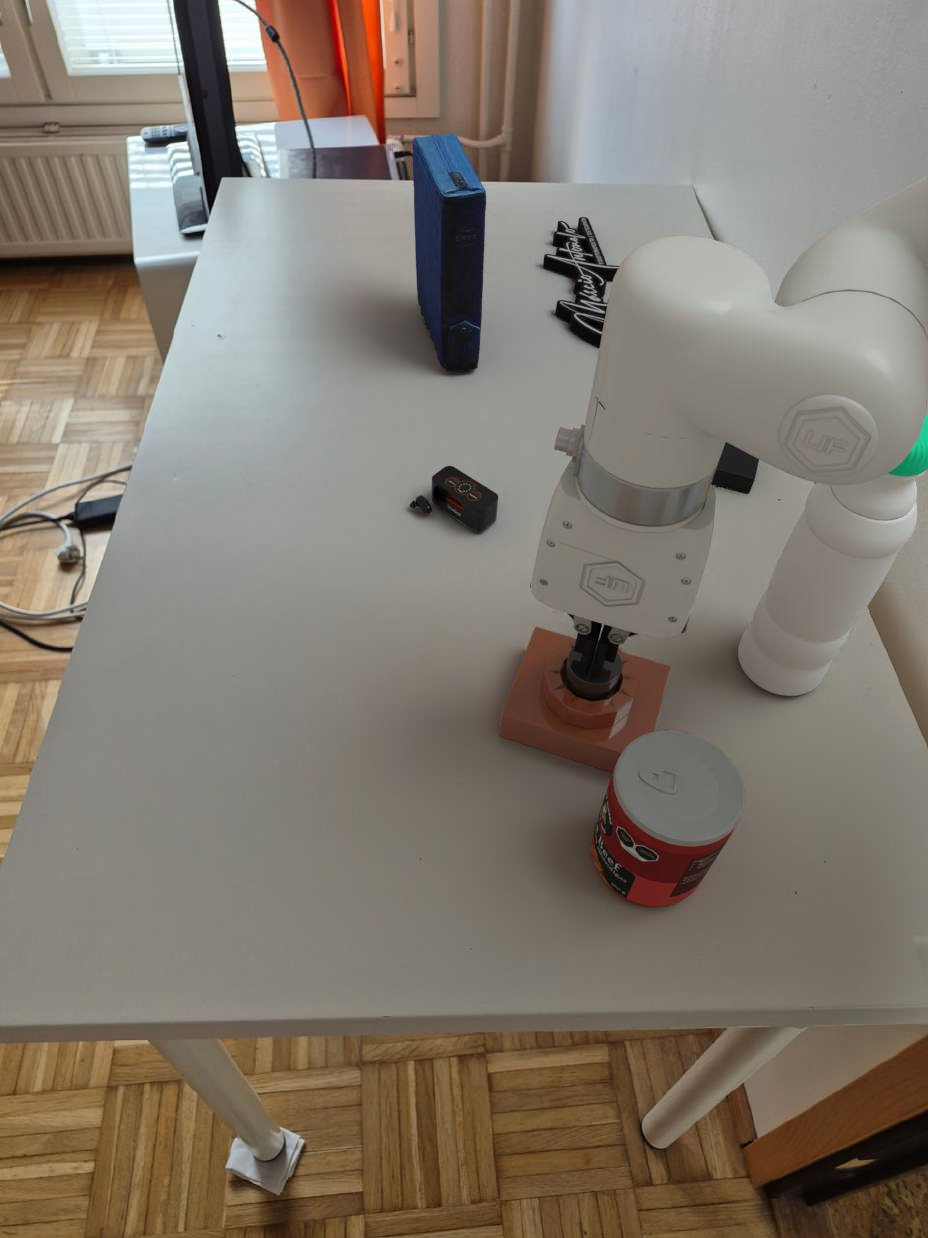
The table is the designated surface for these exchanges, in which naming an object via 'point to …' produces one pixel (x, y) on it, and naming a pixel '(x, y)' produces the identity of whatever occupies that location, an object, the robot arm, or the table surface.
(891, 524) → the water bottle
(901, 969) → the table surface
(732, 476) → the panel
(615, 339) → the robot arm
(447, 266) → the book
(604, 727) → the push button box
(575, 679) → the button
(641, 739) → the canned food
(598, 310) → the nameplate
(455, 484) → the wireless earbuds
